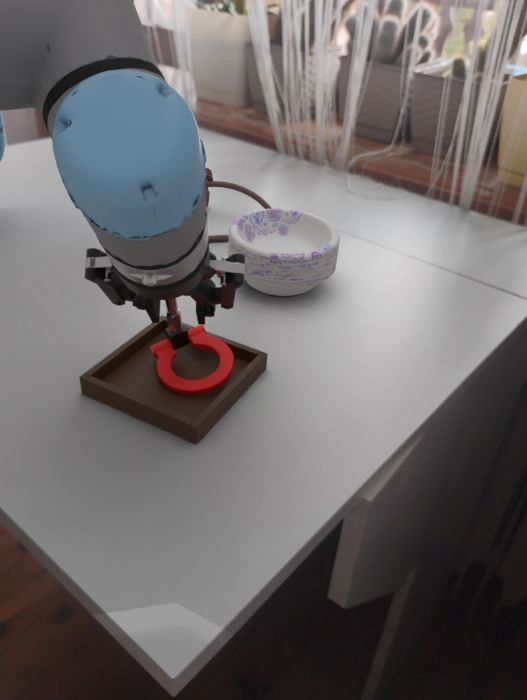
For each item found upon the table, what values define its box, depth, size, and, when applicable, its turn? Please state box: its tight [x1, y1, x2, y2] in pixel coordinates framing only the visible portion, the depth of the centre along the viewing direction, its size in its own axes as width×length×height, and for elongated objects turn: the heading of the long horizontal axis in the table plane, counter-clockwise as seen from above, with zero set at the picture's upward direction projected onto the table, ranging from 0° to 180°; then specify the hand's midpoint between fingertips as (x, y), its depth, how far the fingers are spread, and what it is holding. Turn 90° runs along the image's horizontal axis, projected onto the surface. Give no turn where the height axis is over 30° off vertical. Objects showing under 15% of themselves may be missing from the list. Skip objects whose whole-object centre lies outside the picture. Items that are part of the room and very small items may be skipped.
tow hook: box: [150, 298, 234, 395], centre depth 65 cm, size 8×13×9 cm
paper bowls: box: [227, 207, 341, 297], centre depth 87 cm, size 15×15×8 cm
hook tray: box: [79, 314, 268, 445], centre depth 69 cm, size 15×15×2 cm
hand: (179, 311), depth 69 cm, fingers open, 4 cm apart
